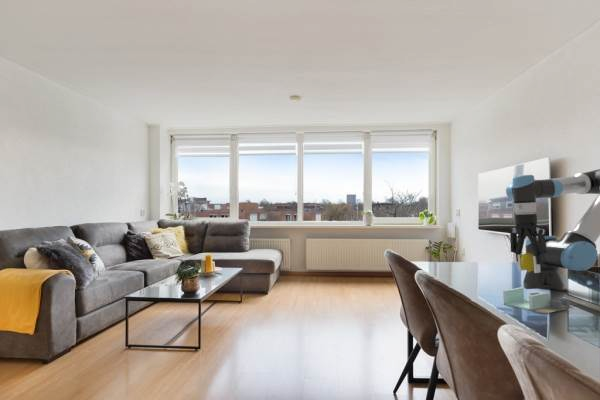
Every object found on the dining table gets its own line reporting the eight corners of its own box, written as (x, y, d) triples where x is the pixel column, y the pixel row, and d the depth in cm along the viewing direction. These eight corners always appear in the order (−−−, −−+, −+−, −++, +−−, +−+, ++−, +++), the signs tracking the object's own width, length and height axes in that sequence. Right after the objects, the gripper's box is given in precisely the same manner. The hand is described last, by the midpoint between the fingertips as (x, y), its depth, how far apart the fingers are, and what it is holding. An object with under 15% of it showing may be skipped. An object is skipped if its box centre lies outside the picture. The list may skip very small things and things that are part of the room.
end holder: (521, 300, 135) (520, 287, 135) (550, 306, 125) (549, 292, 125) (503, 304, 131) (503, 290, 131) (532, 311, 121) (531, 296, 121)
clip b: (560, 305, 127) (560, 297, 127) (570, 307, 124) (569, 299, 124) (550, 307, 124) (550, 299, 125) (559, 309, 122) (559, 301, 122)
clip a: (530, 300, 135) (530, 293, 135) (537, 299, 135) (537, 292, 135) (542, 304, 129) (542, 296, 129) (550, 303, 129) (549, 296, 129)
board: (535, 301, 137) (535, 298, 137) (574, 310, 125) (574, 306, 125) (506, 307, 130) (505, 304, 130) (544, 317, 118) (544, 313, 118)
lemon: (540, 273, 139) (538, 252, 139) (524, 273, 140) (523, 253, 140) (533, 271, 144) (532, 251, 145) (518, 271, 145) (517, 251, 146)
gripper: (497, 214, 150) (501, 269, 149) (543, 213, 133) (547, 275, 132) (509, 213, 153) (513, 267, 152) (555, 212, 136) (560, 273, 135)
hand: (529, 271), depth 142 cm, fingers closed on lemon, 5 cm apart
